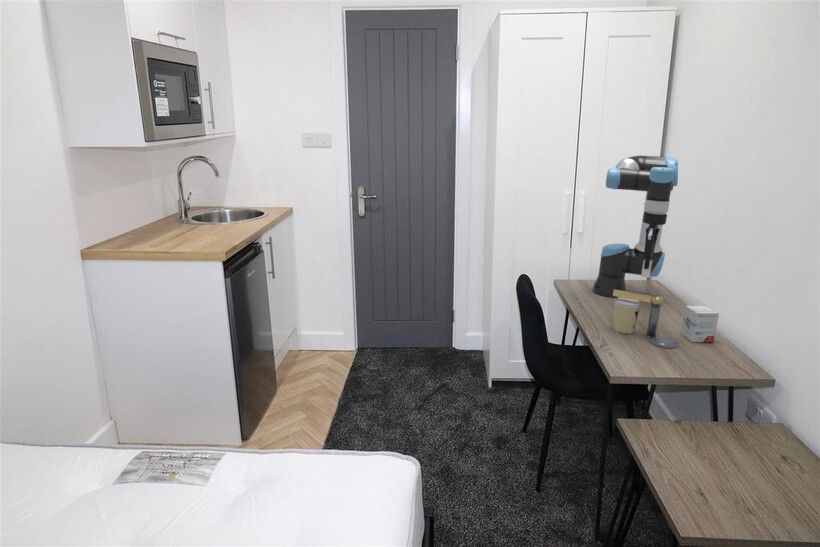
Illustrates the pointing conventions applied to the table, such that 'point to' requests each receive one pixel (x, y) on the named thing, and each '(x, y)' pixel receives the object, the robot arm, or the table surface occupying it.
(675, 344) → the disc
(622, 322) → the coffee cup
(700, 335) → the ink box
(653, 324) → the post
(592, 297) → the table surface
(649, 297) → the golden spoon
